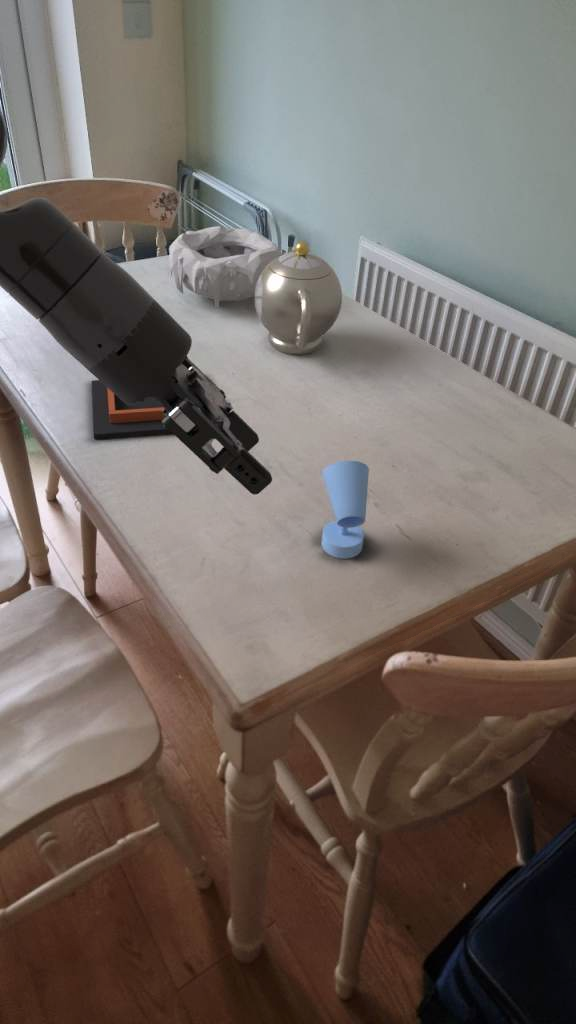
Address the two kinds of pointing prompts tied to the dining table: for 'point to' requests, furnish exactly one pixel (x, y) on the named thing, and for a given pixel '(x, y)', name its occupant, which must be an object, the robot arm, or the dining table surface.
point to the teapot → (298, 300)
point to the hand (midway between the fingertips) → (257, 465)
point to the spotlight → (345, 508)
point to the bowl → (220, 262)
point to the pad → (124, 415)
